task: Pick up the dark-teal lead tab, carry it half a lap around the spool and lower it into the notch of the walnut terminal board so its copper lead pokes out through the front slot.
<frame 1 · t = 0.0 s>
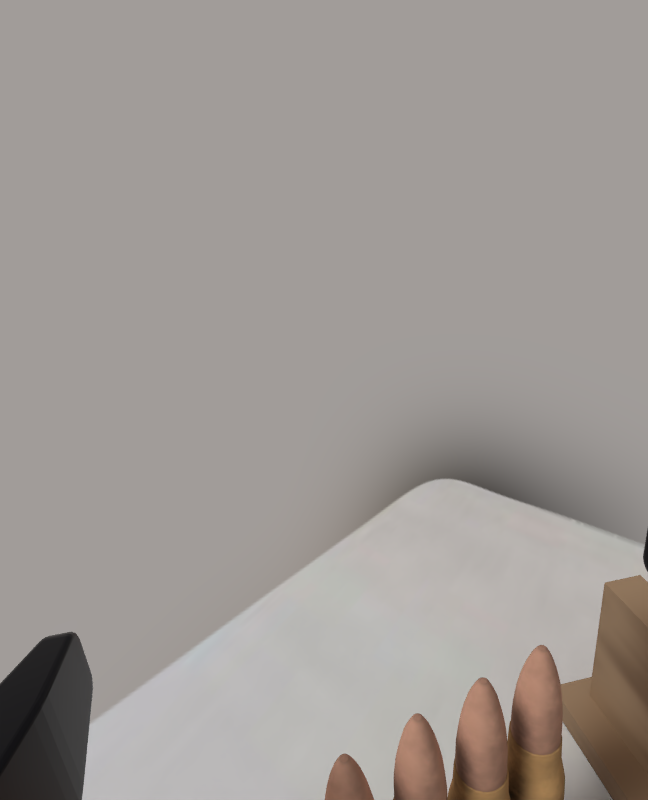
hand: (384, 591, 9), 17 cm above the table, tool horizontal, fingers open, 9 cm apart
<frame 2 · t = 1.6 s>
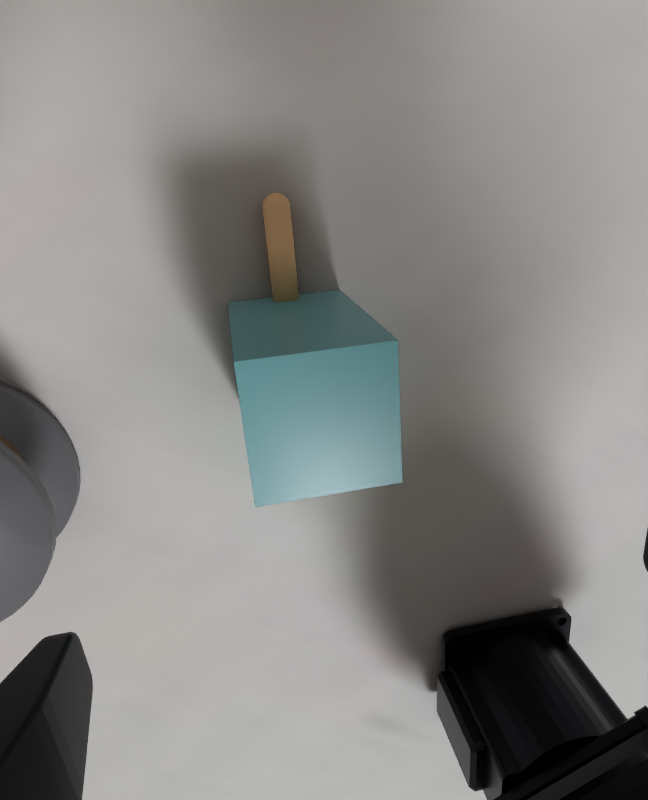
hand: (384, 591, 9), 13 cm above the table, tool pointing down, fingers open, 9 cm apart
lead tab: (290, 349, 21), on the table
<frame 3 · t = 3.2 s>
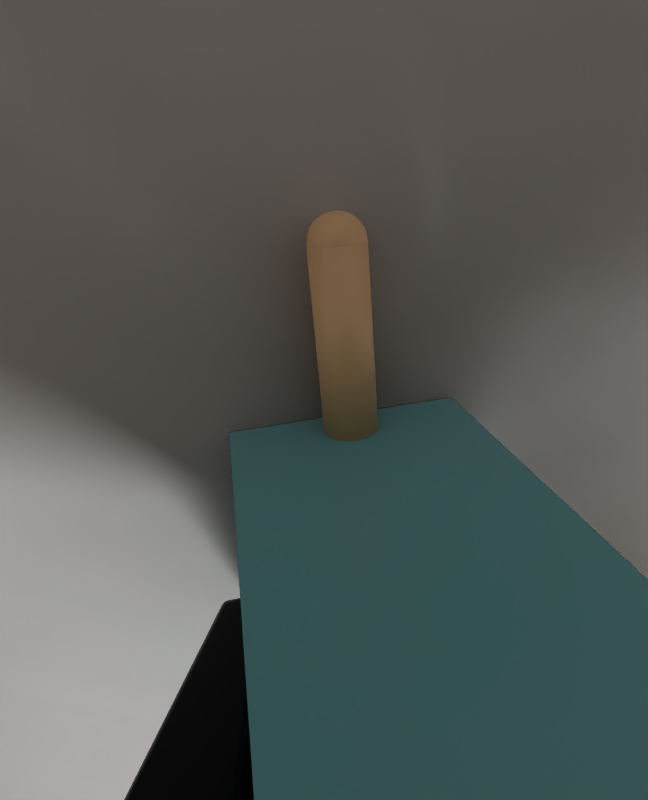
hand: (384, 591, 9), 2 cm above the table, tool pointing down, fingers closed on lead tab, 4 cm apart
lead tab: (351, 510, 11), on the table, touching gripper
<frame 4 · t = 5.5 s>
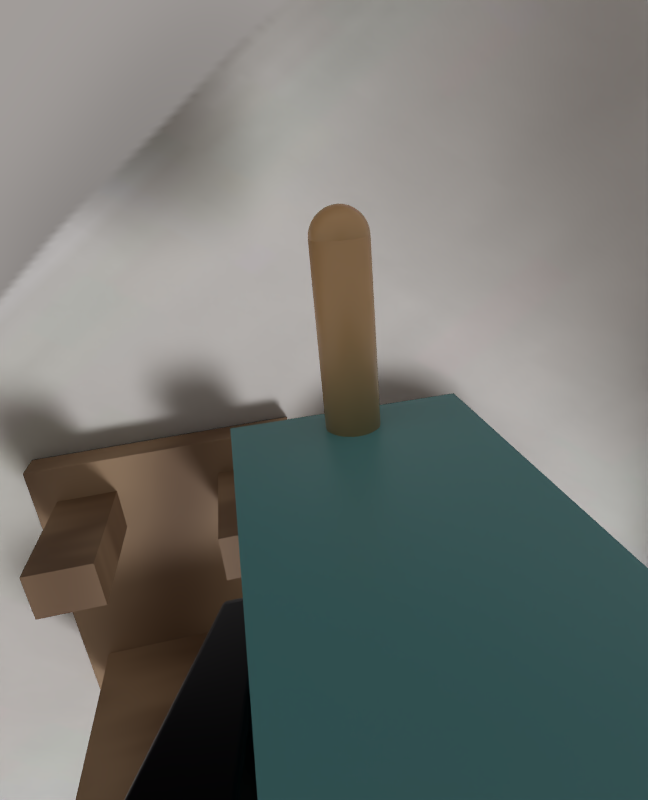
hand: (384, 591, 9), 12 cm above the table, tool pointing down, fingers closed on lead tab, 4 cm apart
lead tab: (352, 507, 11), point 10 cm above the table, touching gripper
notch board: (192, 561, 22), on the table
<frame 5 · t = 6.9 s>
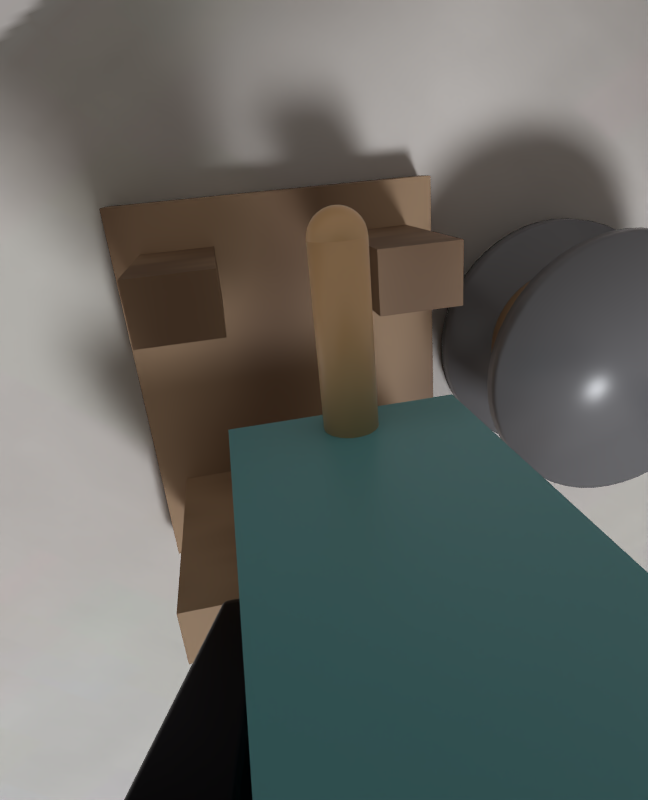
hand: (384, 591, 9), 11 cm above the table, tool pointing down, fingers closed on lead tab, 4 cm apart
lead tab: (351, 508, 11), point 8 cm above the table, touching gripper
spool: (545, 333, 19), on the table
notch board: (289, 370, 18), on the table
when the fingers open (5 cm above the table, at t = 8.1 s): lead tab drops 2 cm, resting on notch board.
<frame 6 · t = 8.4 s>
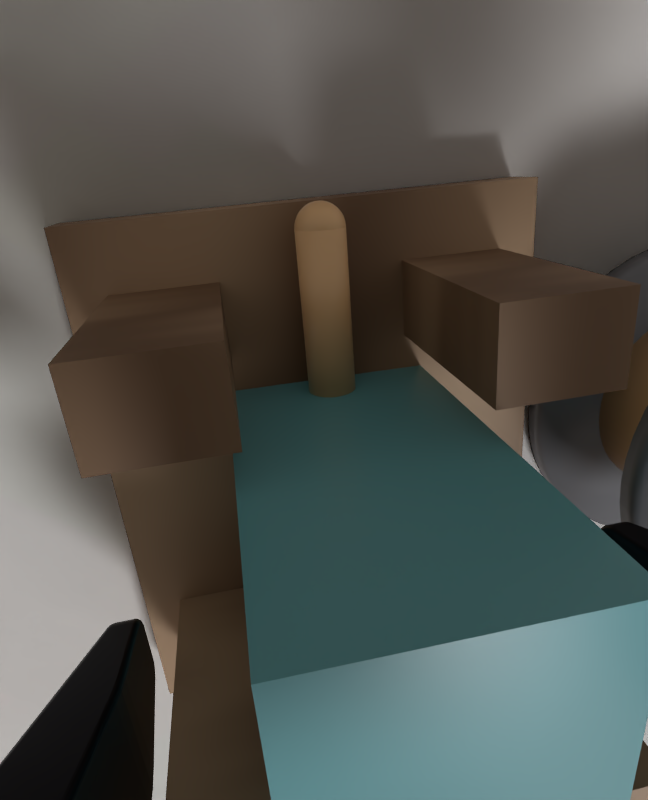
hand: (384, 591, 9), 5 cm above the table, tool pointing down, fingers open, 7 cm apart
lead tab: (333, 464, 12), point 1 cm above the table, touching notch board
notch board: (322, 446, 13), on the table
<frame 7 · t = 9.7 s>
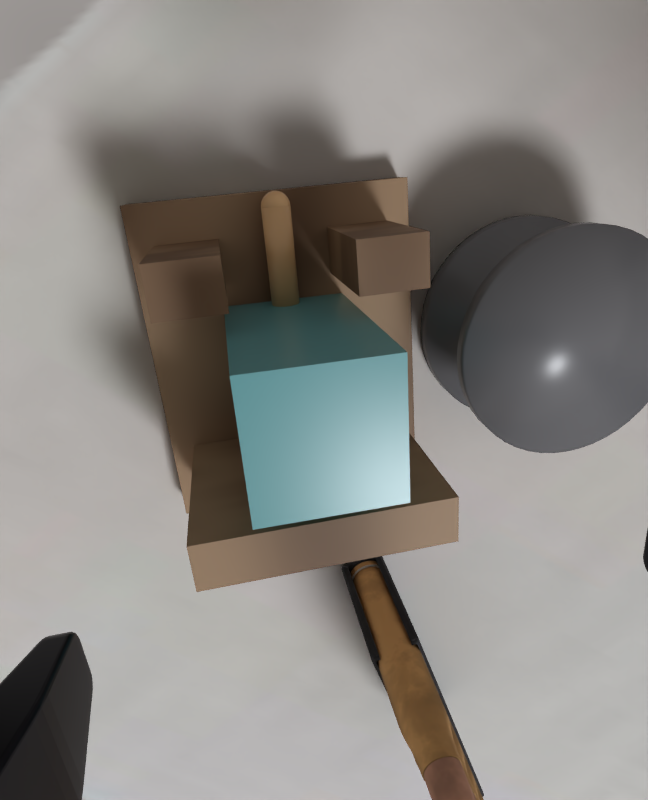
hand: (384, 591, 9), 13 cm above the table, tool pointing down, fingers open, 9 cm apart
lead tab: (289, 356, 19), point 1 cm above the table, touching notch board
spool: (514, 318, 22), on the table
ammunition clip: (394, 634, 27), on the table
notch board: (284, 350, 20), on the table
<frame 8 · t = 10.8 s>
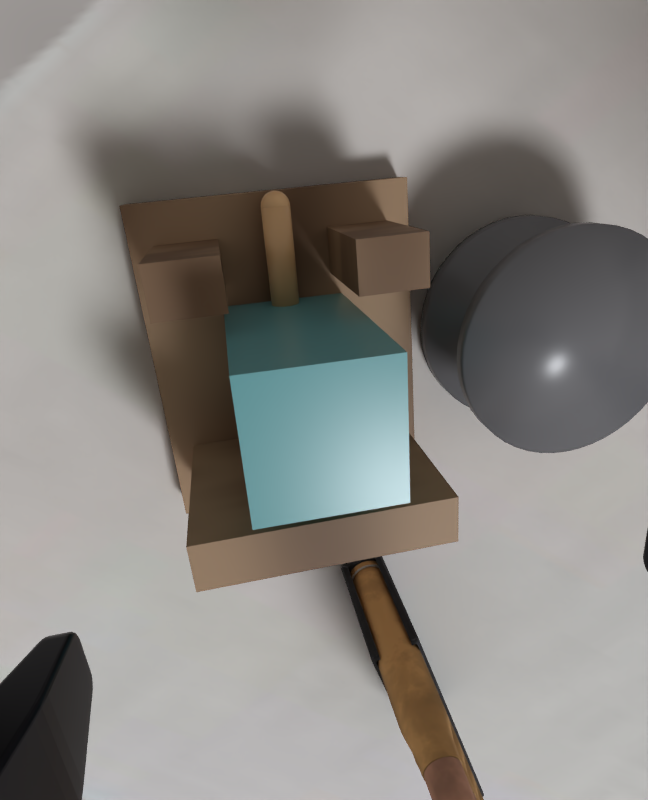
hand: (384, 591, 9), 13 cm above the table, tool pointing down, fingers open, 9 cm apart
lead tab: (289, 356, 19), point 1 cm above the table, touching notch board
spool: (514, 318, 22), on the table
ammunition clip: (393, 634, 27), on the table
notch board: (284, 350, 20), on the table
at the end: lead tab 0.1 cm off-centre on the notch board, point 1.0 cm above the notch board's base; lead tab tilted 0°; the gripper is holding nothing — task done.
